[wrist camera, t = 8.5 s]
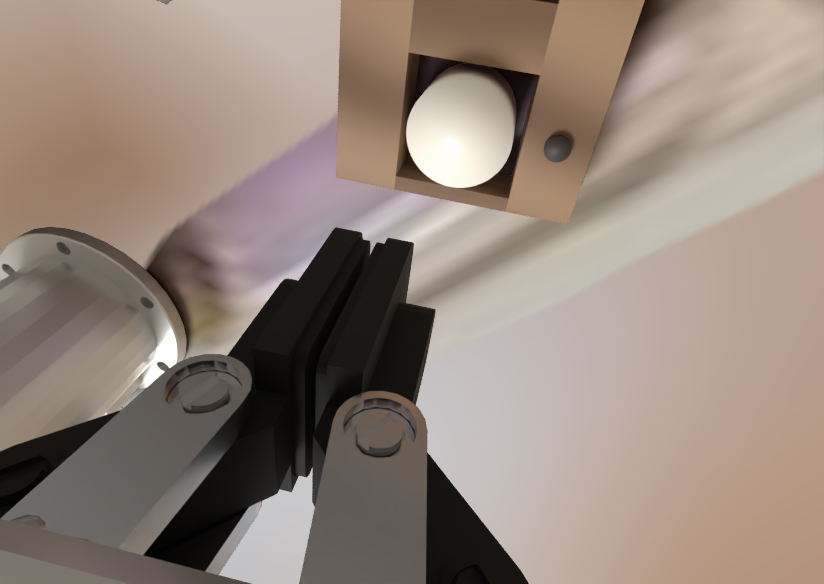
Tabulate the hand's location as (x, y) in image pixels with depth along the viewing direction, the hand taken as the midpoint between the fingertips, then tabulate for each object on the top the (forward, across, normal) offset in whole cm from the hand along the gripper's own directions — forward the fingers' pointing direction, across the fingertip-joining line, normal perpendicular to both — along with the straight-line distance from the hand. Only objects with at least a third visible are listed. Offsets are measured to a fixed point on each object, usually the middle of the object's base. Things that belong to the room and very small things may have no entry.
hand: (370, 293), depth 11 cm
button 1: (+13, -1, -1) cm, 13 cm away
